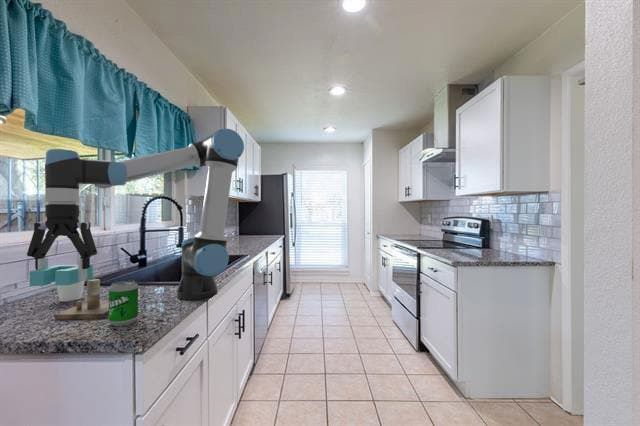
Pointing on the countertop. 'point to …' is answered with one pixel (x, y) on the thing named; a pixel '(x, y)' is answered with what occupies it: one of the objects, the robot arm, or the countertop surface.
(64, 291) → the cup
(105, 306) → the post fixture
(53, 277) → the teal u-shaped block
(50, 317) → the countertop surface
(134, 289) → the soda can
